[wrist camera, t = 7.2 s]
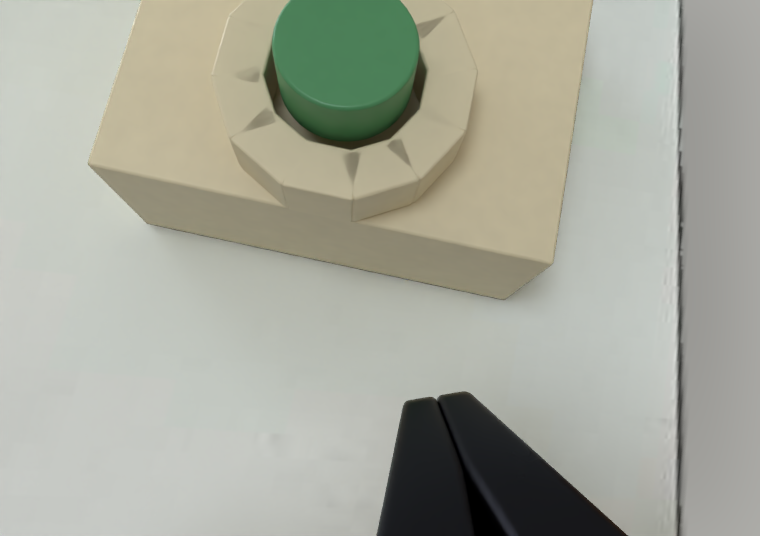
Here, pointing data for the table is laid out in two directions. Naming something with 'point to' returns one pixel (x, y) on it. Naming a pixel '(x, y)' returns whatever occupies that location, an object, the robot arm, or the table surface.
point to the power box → (356, 158)
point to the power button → (345, 65)
